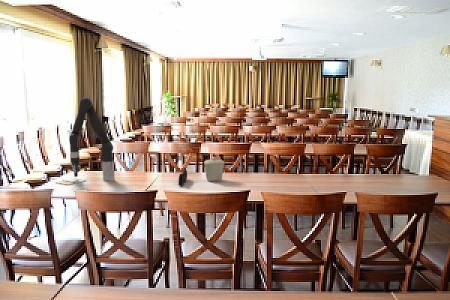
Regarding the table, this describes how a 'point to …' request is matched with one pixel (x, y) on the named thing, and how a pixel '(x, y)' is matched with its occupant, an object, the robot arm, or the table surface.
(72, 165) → the robot arm
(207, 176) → the canister
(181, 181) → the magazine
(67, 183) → the ash board
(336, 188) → the table surface
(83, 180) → the sage plank
